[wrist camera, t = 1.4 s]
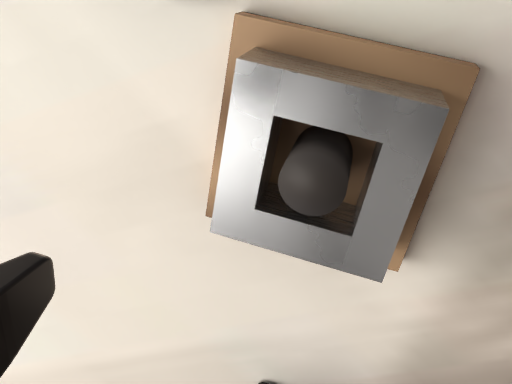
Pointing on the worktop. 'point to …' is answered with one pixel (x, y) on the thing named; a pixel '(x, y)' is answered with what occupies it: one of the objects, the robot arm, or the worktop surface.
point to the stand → (332, 142)
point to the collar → (333, 118)
